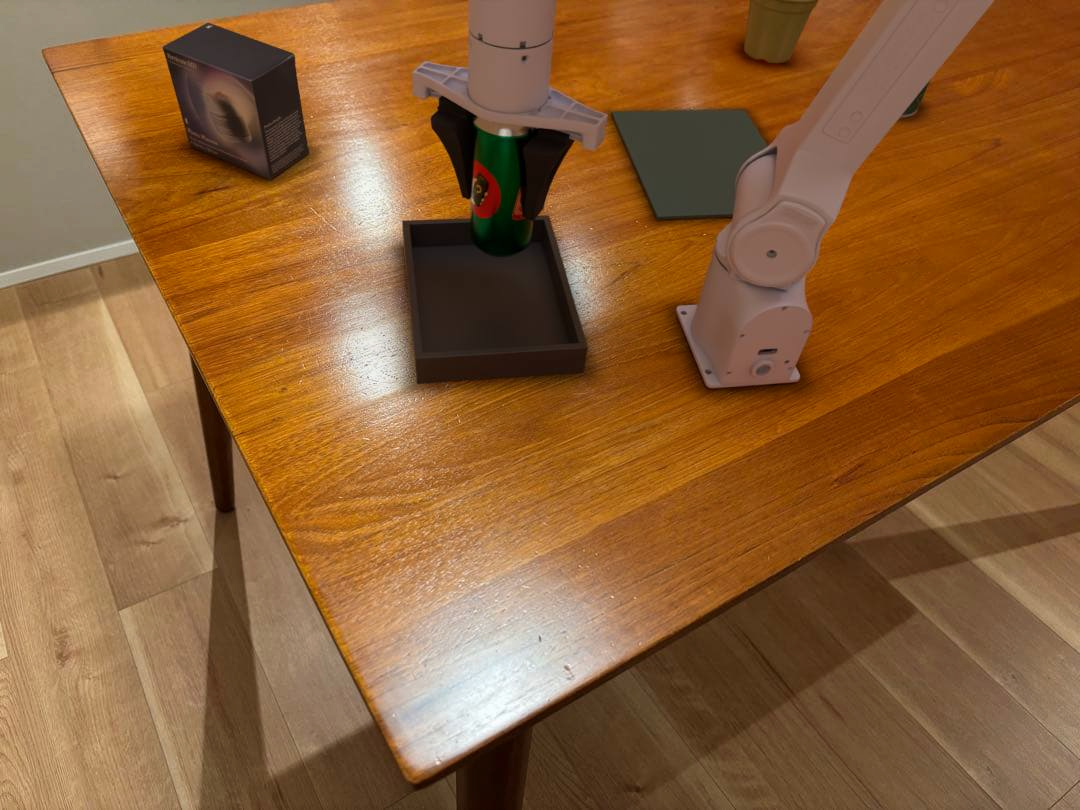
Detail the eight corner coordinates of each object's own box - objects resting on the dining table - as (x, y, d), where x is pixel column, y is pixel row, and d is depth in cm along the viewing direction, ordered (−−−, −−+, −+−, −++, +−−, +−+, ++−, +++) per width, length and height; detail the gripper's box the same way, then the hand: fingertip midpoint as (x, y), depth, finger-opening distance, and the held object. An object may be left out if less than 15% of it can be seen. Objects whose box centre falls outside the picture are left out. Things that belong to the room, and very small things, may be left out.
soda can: (524, 266, 66) (534, 129, 57) (463, 254, 66) (463, 116, 57) (536, 229, 69) (548, 94, 60) (478, 218, 69) (481, 83, 60)
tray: (583, 372, 65) (588, 347, 63) (416, 384, 63) (415, 358, 61) (546, 240, 76) (549, 214, 74) (403, 246, 74) (402, 220, 72)
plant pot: (716, 41, 107) (733, -29, 101) (774, 33, 110) (794, -36, 104) (757, 75, 102) (778, 3, 95) (817, 65, 105) (841, -5, 98)
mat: (808, 214, 82) (810, 211, 82) (656, 220, 80) (657, 216, 79) (743, 112, 95) (744, 109, 95) (611, 114, 93) (611, 111, 92)
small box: (184, 148, 82) (156, 44, 74) (230, 121, 86) (207, 19, 78) (269, 183, 79) (248, 78, 71) (312, 152, 83) (297, 50, 75)
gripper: (633, 34, 55) (606, 204, 66) (444, -17, 59) (446, 153, 69) (595, 77, 51) (572, 252, 61) (392, 19, 54) (403, 194, 64)
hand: (503, 202), depth 65 cm, fingers closed on soda can, 5 cm apart
